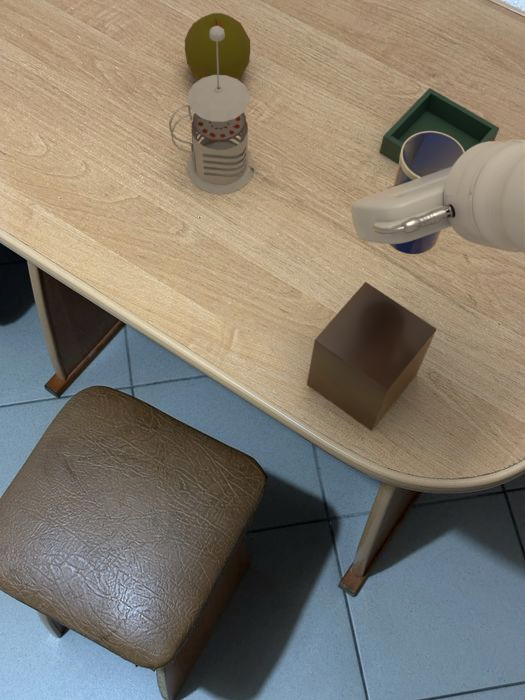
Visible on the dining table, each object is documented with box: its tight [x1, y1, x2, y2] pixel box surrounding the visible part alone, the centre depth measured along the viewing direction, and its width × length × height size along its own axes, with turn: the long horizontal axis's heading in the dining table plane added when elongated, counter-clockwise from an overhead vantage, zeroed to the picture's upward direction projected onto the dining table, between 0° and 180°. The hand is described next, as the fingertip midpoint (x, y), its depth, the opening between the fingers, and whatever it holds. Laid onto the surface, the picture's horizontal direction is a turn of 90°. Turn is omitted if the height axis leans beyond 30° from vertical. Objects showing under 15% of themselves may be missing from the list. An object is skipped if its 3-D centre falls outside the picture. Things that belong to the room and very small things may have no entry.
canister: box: [389, 131, 465, 255], centre depth 84 cm, size 6×6×12 cm
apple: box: [184, 12, 251, 81], centre depth 124 cm, size 10×10×11 cm
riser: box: [306, 281, 438, 432], centre depth 100 cm, size 10×10×12 cm
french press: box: [168, 26, 255, 195], centre depth 109 cm, size 10×12×25 cm
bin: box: [379, 87, 500, 165], centre depth 121 cm, size 12×12×4 cm
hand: (420, 184), depth 83 cm, fingers closed on canister, 6 cm apart
